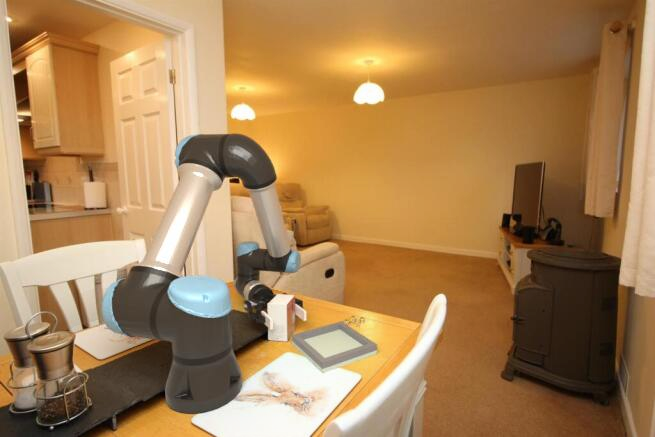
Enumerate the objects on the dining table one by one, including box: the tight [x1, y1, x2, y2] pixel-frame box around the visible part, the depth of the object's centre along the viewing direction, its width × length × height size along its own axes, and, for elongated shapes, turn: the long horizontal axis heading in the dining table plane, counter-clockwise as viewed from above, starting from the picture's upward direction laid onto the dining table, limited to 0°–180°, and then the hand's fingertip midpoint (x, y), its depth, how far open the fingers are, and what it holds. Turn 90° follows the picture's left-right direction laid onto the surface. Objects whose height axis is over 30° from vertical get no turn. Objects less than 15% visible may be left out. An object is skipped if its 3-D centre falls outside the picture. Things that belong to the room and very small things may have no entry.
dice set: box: [343, 315, 365, 328], centre depth 104 cm, size 5×5×2 cm
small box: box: [266, 293, 296, 343], centre depth 96 cm, size 8×6×10 cm
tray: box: [291, 320, 378, 374], centre depth 89 cm, size 16×16×2 cm
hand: (288, 320), depth 92 cm, fingers closed on small box, 9 cm apart
